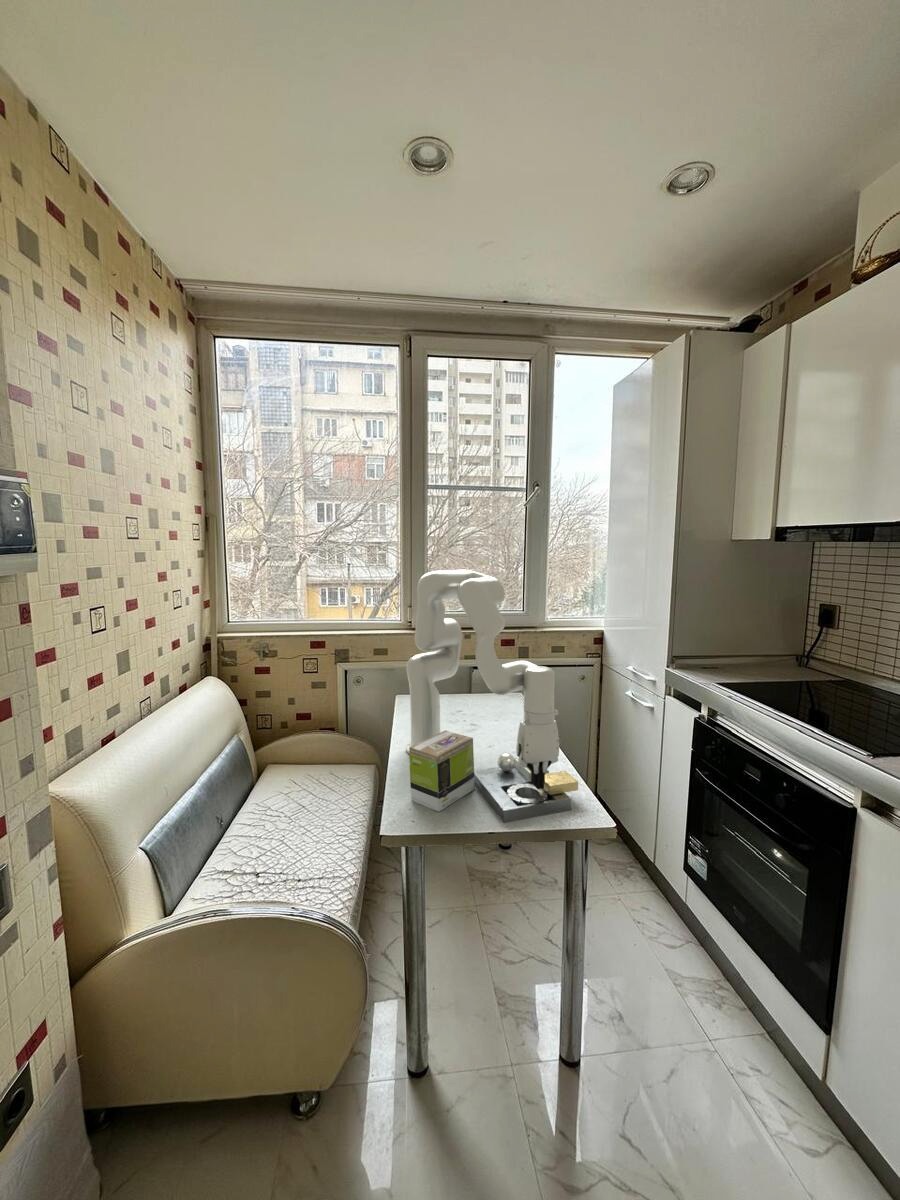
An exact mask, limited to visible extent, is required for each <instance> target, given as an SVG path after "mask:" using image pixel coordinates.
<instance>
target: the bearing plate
mask: <svg viewBox="0 0 900 1200" xmlns="http://www.w3.org/2000/svg"><path fill="white" fill-rule="evenodd" d="M474 786H476V788H477V790H478V791H479V792H480V793H481V794H482V796H483V798H485V800H486V801H487V803H488V804H489V805H490V807H491V808H492V809H493V811H494V812H495V813H496V814H497V816H498V817H499V818H500V820H501V821H502V822H503V823H509V822H515V821H521V820H525V819H531V818H537V817H542V816H548V815H553V814H559V813H564V812H569V811H572V798H571V797H570V796H569V795H568V794H566V792H564V793H558V794H553V795H549V794H548V793H547V792H546V791H545V790H544V789H543V788H542V789H541V788H540V789H537V788H536V787H535V786H534V785H533V784H532V782H531V781H529V780H528V779H527V778H526V777H525V776H524V775H523V774H522V773H521V772H520V771H519V770H518V769H517V768H516V767H514V769H513V770H512V771H510V772H504V771H502V770H501V769H500V768H499V766H496V767H489V768H481V769H477V770H475V769H474Z"/></svg>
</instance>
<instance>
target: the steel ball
mask: <svg viewBox="0 0 900 1200" xmlns="http://www.w3.org/2000/svg"><path fill="white" fill-rule="evenodd" d="M515 758H516V757H514V755H512V754H511V753H509V752H503V753H501V754H500V755H499V757H498V759H497V767H499V768H500V769H501V770H502V771H504V772H510V771H512V770H513V769H514V767H515V765H516V761H515Z"/></svg>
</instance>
